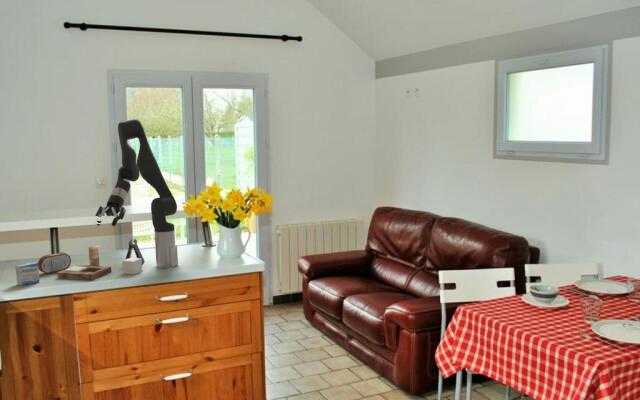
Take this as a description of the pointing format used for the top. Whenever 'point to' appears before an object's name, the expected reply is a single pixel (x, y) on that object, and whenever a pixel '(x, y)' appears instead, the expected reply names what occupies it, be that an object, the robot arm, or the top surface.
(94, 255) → the birch peg
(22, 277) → the medicine box
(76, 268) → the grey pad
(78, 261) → the top surface
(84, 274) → the brown wooden tray
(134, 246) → the dark grey angled piece
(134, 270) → the white rounded cube
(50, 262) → the tin
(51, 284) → the top surface
